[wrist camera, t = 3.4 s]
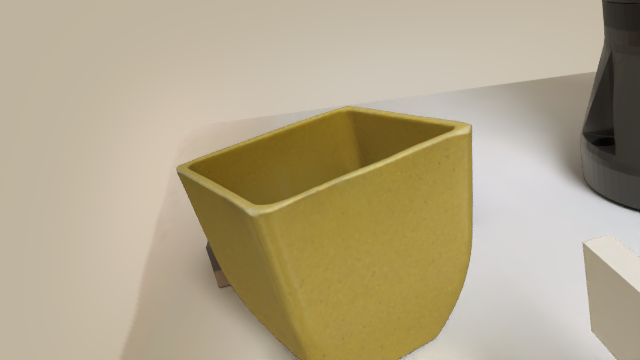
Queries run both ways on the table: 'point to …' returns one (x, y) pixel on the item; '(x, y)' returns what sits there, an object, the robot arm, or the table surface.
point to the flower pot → (343, 228)
